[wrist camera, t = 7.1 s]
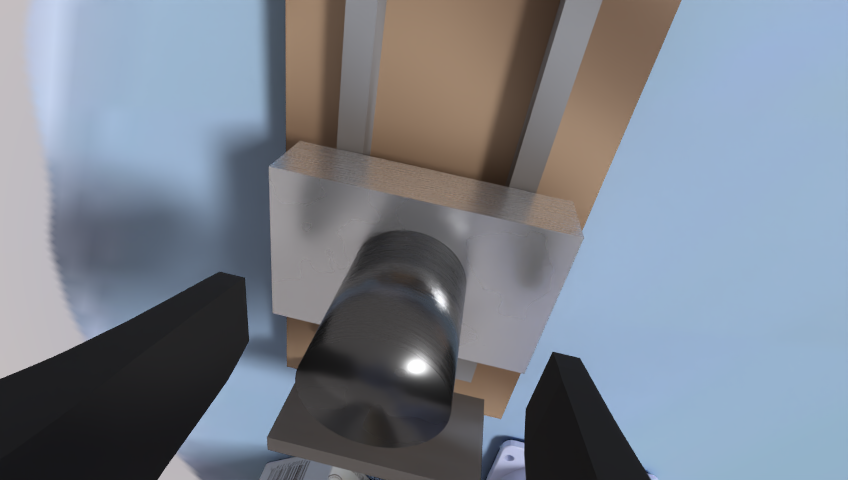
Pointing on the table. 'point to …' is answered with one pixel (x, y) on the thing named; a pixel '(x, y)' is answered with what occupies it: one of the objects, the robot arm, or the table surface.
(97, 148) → the table surface
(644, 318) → the table surface
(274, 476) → the coffee box
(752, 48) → the table surface
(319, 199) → the press carriage
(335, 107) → the nut press
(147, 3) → the table surface
